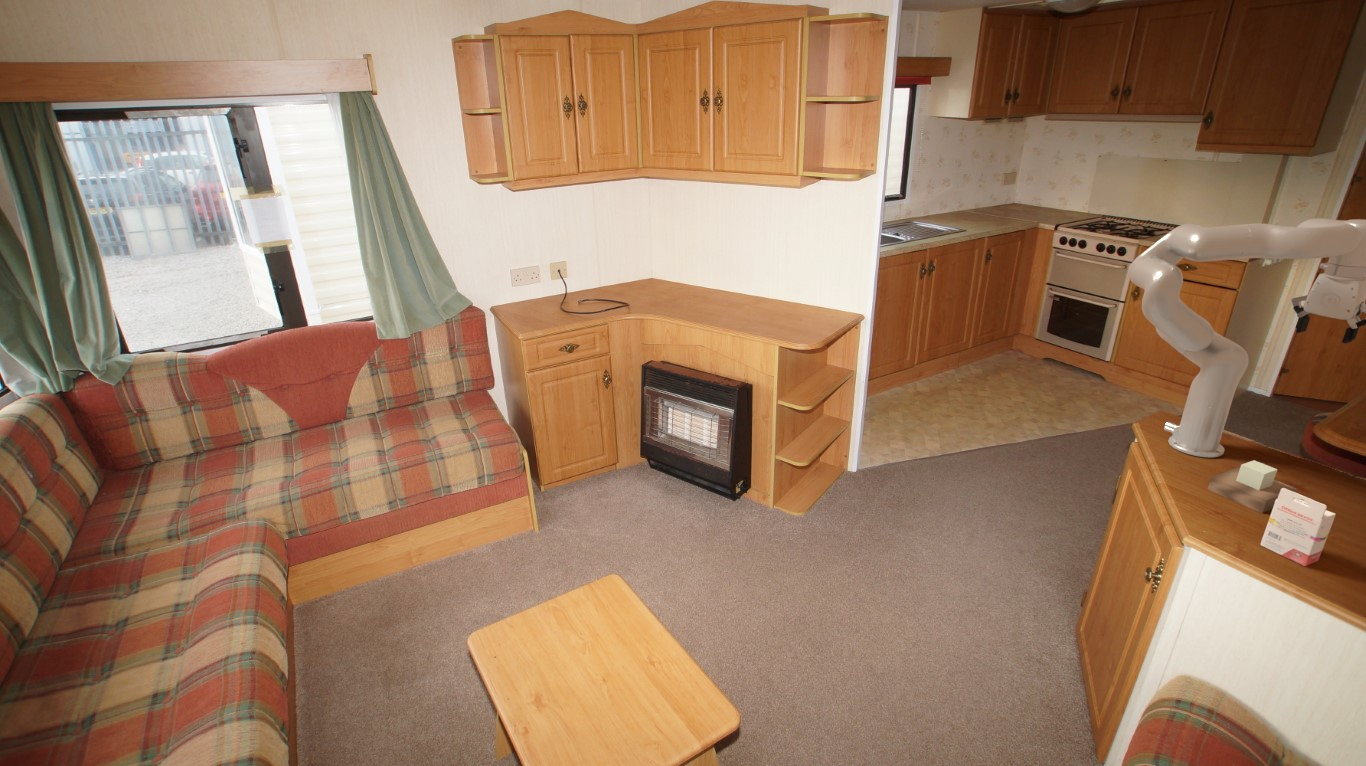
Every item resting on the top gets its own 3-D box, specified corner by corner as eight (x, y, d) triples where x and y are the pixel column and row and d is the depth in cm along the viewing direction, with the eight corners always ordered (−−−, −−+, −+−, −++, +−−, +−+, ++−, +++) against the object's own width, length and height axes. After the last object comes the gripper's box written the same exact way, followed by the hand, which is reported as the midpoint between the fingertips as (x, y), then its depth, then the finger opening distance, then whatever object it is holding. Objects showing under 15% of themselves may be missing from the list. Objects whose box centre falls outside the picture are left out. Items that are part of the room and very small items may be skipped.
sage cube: (1236, 480, 163) (1241, 464, 161) (1248, 476, 164) (1254, 460, 163) (1258, 490, 158) (1264, 474, 157) (1271, 485, 160) (1277, 469, 158)
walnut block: (1206, 490, 166) (1211, 477, 165) (1236, 479, 170) (1240, 466, 169) (1261, 515, 156) (1266, 500, 154) (1291, 502, 160) (1296, 488, 159)
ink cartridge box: (1319, 561, 139) (1343, 501, 133) (1304, 567, 137) (1328, 507, 132) (1272, 539, 146) (1293, 481, 141) (1258, 544, 145) (1279, 486, 139)
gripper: (1295, 266, 169) (1275, 330, 176) (1383, 280, 154) (1357, 349, 161) (1312, 263, 172) (1291, 326, 178) (1400, 276, 157) (1374, 344, 163)
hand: (1323, 337), depth 169 cm, fingers open, 9 cm apart
